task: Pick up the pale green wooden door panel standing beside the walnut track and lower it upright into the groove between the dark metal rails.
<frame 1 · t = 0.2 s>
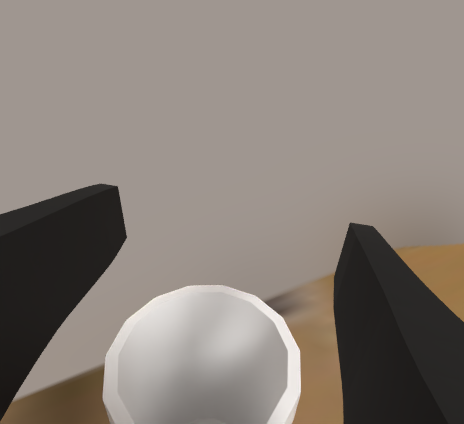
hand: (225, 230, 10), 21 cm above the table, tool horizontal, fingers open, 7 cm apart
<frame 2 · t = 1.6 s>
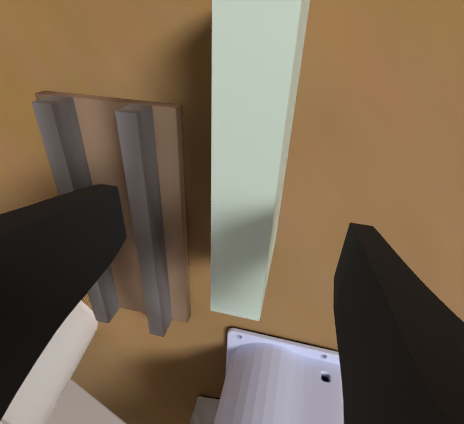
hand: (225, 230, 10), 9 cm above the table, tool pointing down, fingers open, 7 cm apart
bottom track: (130, 222, 23), on the table
door panel: (268, 136, 18), on the table
foam cup: (71, 312, 32), on the table
coffee box: (242, 414, 34), on the table
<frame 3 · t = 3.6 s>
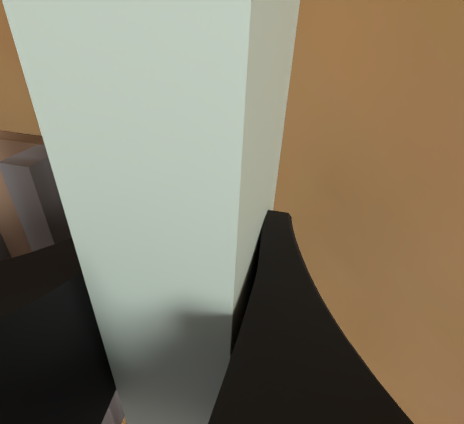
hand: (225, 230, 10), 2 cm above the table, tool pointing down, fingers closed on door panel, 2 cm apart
bottom track: (67, 289, 17), on the table
door panel: (241, 194, 12), on the table, touching gripper
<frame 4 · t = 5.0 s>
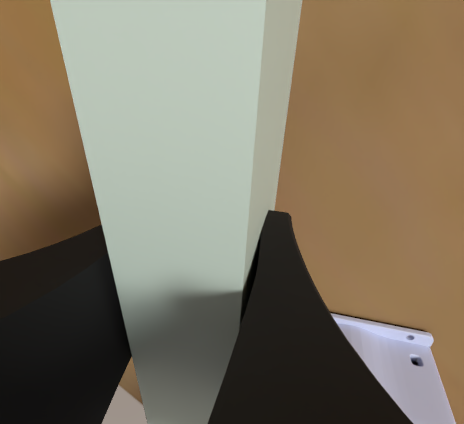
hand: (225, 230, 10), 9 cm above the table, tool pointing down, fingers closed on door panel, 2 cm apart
door panel: (245, 184, 12), point 6 cm above the table, touching gripper
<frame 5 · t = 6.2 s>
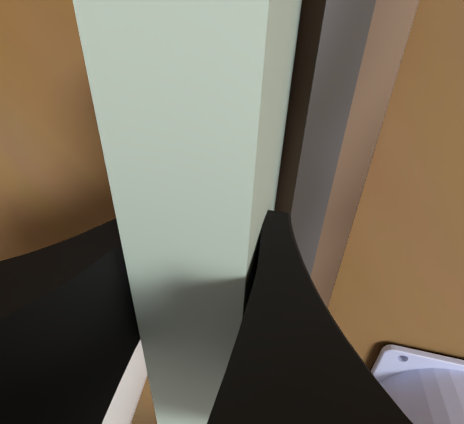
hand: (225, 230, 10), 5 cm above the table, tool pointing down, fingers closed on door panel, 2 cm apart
bottom track: (253, 169, 14), on the table
door panel: (247, 180, 13), point 1 cm above the table, touching gripper
foam cup: (121, 317, 22), on the table
when the fingers open (4 cm above the table, at t = 6.6 s): door panel stays where it is, resting on bottom track.
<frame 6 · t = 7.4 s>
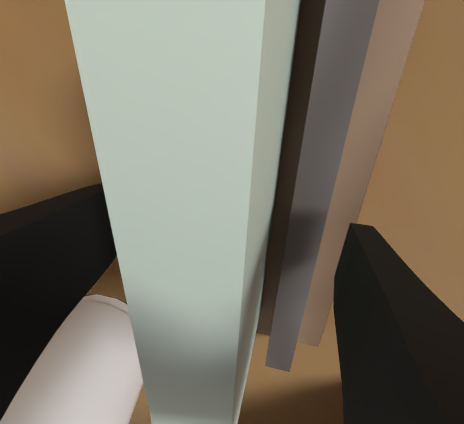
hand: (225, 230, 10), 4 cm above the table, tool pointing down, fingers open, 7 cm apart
bottom track: (250, 175, 13), on the table
door panel: (245, 182, 12), point 1 cm above the table, touching bottom track
foam cup: (116, 325, 22), on the table
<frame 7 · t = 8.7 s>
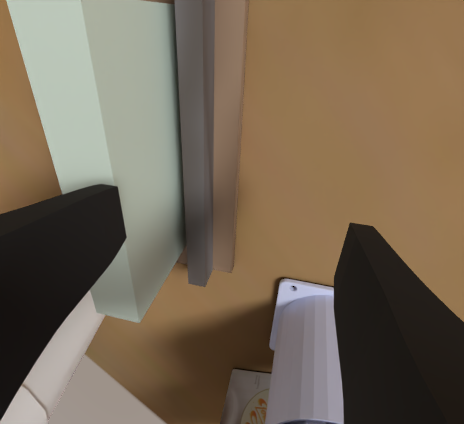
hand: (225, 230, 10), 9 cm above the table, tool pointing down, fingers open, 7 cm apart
bottom track: (168, 141, 19), on the table
door panel: (162, 145, 18), point 1 cm above the table, touching bottom track
foam cup: (88, 270, 28), on the table
coffee box: (282, 390, 30), on the table
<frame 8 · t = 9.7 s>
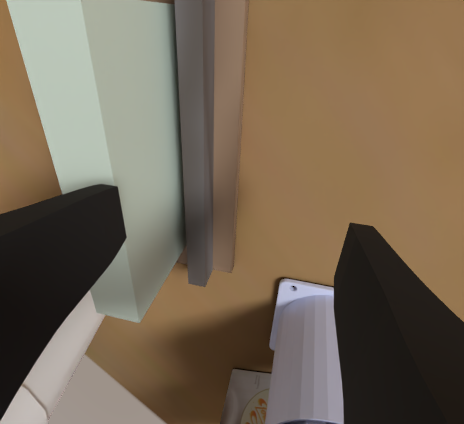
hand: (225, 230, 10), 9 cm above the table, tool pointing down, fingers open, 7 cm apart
bottom track: (168, 141, 19), on the table
door panel: (162, 145, 18), point 1 cm above the table, touching bottom track
foam cup: (88, 270, 28), on the table
coffee box: (282, 390, 30), on the table
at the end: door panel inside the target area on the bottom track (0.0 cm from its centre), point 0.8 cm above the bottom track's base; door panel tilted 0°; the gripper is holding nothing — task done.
